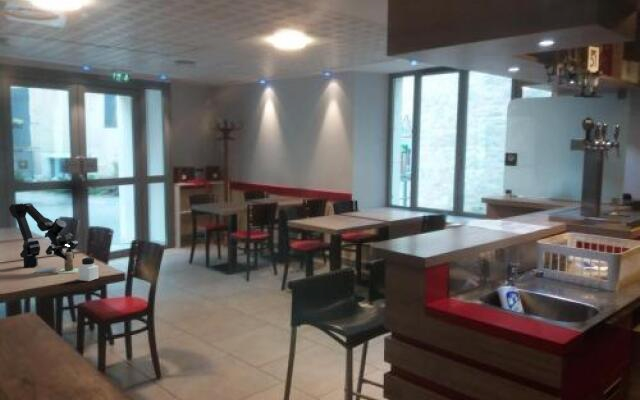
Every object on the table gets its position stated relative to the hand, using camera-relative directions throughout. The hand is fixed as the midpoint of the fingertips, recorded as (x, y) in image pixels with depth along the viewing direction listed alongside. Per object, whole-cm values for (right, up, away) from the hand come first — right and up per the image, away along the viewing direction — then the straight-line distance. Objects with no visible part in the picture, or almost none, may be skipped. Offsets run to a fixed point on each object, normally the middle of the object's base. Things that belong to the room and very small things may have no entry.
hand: (70, 258), depth 288 cm
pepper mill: (-1, -7, +1) cm, 7 cm away
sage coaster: (-1, -8, +1) cm, 8 cm away
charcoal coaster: (-15, -7, +2) cm, 17 cm away
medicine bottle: (+18, -10, -16) cm, 26 cm away
